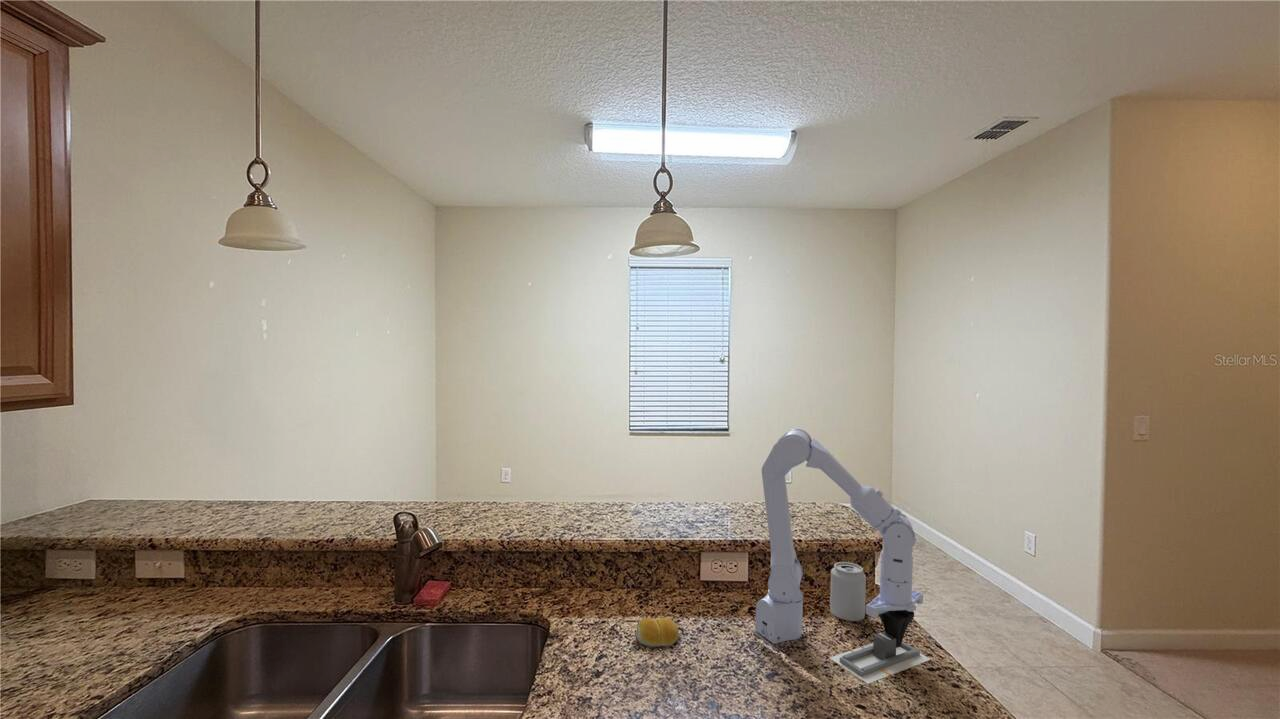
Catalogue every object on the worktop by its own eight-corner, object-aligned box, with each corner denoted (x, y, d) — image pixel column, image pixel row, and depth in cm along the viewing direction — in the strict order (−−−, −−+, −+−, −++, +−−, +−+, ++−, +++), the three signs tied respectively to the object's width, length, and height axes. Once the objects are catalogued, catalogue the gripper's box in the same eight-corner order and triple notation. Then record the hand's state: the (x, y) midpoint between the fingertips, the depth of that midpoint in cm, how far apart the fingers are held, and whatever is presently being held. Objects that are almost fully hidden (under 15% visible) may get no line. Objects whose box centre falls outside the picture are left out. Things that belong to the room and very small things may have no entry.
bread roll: (682, 647, 109) (683, 628, 109) (639, 650, 108) (640, 630, 108) (673, 626, 118) (674, 608, 117) (633, 629, 116) (633, 610, 116)
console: (867, 690, 96) (867, 678, 96) (829, 663, 104) (829, 652, 104) (931, 665, 104) (931, 654, 104) (890, 642, 112) (891, 632, 112)
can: (858, 611, 126) (860, 560, 126) (869, 627, 119) (870, 574, 118) (826, 609, 127) (827, 558, 127) (834, 625, 119) (836, 571, 119)
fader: (885, 662, 103) (886, 641, 103) (873, 655, 105) (873, 634, 105) (895, 658, 104) (896, 638, 104) (883, 651, 107) (883, 631, 107)
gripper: (889, 592, 99) (887, 664, 99) (938, 578, 106) (936, 646, 106) (858, 577, 105) (855, 645, 106) (906, 565, 112) (904, 629, 112)
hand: (893, 644), depth 106 cm, fingers closed
